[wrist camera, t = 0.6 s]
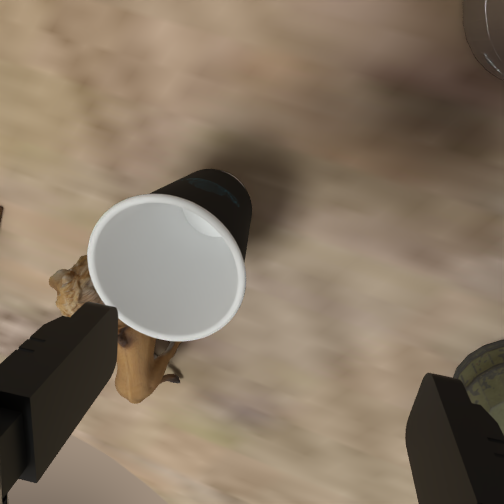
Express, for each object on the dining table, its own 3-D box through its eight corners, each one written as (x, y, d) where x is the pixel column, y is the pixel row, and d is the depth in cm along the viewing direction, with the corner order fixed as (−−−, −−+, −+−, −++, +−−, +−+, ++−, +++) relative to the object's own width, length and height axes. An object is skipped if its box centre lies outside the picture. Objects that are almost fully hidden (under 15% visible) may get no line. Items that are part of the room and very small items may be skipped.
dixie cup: (256, 133, 28) (217, 178, 19) (283, 243, 31) (263, 332, 21) (146, 160, 30) (59, 214, 21) (182, 262, 33) (121, 351, 23)
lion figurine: (92, 228, 33) (16, 285, 25) (155, 216, 32) (97, 271, 24) (155, 380, 39) (109, 467, 31) (211, 374, 38) (179, 463, 29)
